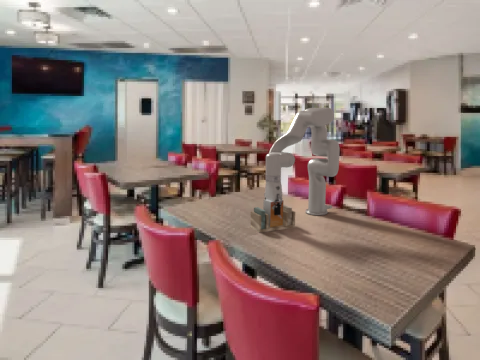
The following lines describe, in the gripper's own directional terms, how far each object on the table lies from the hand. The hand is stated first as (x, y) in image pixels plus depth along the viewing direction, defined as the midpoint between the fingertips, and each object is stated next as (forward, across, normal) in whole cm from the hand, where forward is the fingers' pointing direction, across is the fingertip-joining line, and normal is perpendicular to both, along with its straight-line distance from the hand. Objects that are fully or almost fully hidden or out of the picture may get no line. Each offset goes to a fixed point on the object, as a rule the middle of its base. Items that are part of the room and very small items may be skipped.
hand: (272, 212), depth 190 cm
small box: (+7, 0, 0) cm, 7 cm away
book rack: (+8, 0, 0) cm, 8 cm away
